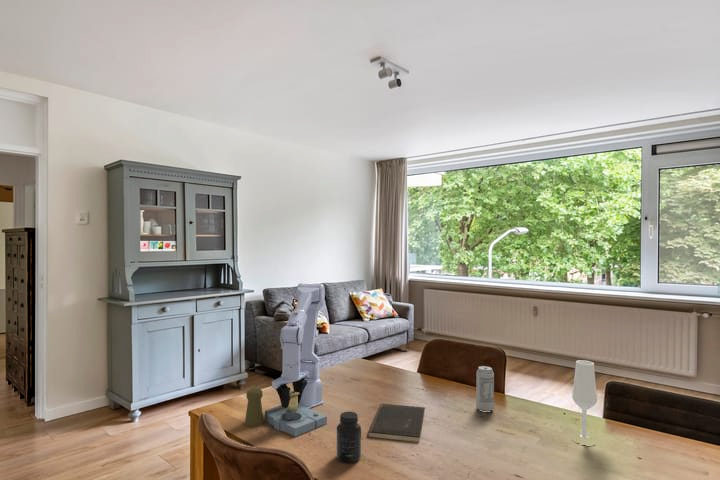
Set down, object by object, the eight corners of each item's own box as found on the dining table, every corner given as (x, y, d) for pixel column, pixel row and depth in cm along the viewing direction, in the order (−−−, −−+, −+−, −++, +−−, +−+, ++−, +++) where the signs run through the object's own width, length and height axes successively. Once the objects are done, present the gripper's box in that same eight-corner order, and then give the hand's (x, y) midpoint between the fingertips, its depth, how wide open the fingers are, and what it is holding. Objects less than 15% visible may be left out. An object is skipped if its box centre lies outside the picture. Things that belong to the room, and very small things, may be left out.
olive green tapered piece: (259, 427, 138) (259, 393, 138) (241, 425, 139) (241, 391, 139) (266, 419, 144) (266, 386, 144) (249, 417, 145) (249, 385, 145)
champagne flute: (587, 448, 127) (588, 366, 126) (566, 438, 133) (567, 360, 132) (601, 443, 130) (602, 363, 130) (580, 434, 136) (582, 358, 136)
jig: (296, 410, 152) (296, 400, 152) (326, 423, 141) (326, 413, 141) (262, 422, 142) (262, 411, 142) (292, 437, 131) (292, 426, 131)
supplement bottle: (335, 452, 123) (336, 409, 123) (359, 451, 123) (360, 409, 123) (336, 464, 116) (337, 420, 116) (362, 463, 117) (362, 419, 117)
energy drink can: (491, 407, 157) (492, 365, 157) (495, 413, 151) (495, 370, 151) (474, 406, 158) (475, 365, 158) (477, 412, 152) (478, 370, 152)
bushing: (297, 409, 143) (297, 390, 144) (300, 412, 138) (300, 392, 139) (282, 410, 141) (282, 391, 142) (285, 414, 136) (285, 394, 137)
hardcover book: (424, 413, 152) (425, 407, 152) (419, 444, 129) (419, 436, 129) (379, 409, 155) (380, 403, 155) (367, 438, 133) (367, 431, 133)
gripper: (299, 356, 149) (299, 395, 149) (265, 365, 138) (265, 408, 138) (314, 359, 144) (313, 400, 144) (280, 369, 133) (279, 413, 133)
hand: (291, 404), depth 141 cm, fingers closed on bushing, 5 cm apart
